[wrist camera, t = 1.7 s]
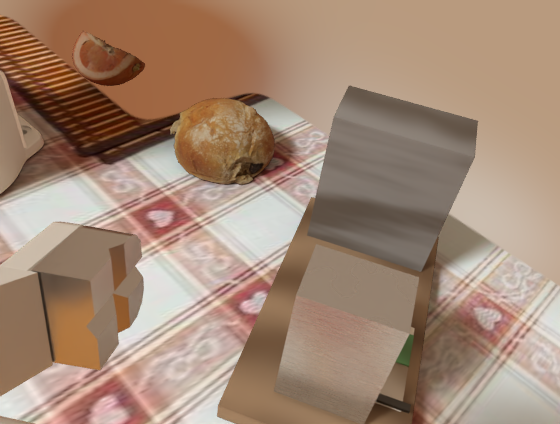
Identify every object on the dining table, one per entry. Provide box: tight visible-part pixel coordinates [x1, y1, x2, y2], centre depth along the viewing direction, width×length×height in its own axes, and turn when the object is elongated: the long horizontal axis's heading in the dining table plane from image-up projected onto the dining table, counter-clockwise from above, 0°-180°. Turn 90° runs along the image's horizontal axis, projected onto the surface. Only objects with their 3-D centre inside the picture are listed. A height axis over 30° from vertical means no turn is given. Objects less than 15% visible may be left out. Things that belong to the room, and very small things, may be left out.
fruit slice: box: [72, 31, 145, 86], centre depth 61 cm, size 8×7×5 cm
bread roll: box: [170, 98, 275, 185], centre depth 53 cm, size 10×10×8 cm
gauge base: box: [217, 86, 478, 424], centre depth 37 cm, size 22×12×14 cm, turn 162°
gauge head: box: [274, 244, 419, 424], centre depth 33 cm, size 7×9×10 cm
